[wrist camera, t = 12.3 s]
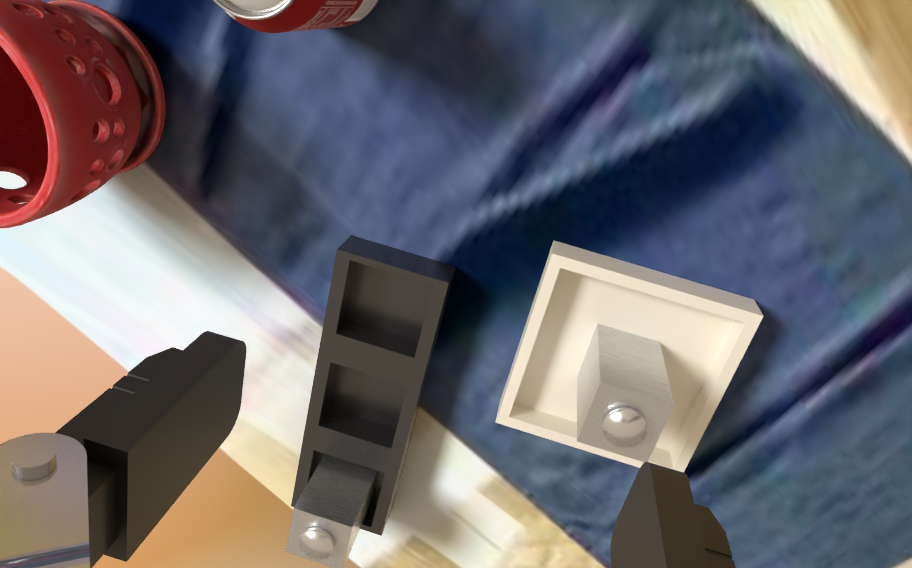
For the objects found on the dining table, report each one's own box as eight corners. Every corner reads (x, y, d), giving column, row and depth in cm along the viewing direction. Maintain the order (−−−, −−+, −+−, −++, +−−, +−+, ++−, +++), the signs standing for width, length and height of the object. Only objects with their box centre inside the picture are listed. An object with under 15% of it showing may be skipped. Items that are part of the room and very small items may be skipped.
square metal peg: (383, 457, 54) (349, 533, 46) (373, 497, 56) (339, 576, 48) (331, 441, 54) (290, 513, 47) (323, 481, 56) (282, 557, 48)
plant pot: (36, -48, 43) (-147, -66, 32) (208, 57, 44) (87, 74, 33) (-2, 122, 49) (-169, 156, 38) (152, 214, 49) (32, 272, 39)
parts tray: (753, 299, 44) (763, 316, 41) (675, 457, 50) (679, 480, 47) (553, 240, 45) (552, 253, 42) (499, 402, 51) (495, 422, 48)
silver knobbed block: (659, 341, 46) (675, 410, 38) (637, 393, 47) (648, 469, 40) (597, 323, 46) (600, 388, 38) (577, 375, 48) (576, 447, 40)
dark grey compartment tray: (456, 266, 47) (448, 283, 44) (391, 510, 57) (381, 535, 54) (351, 235, 47) (337, 249, 44) (304, 482, 57) (291, 505, 55)
